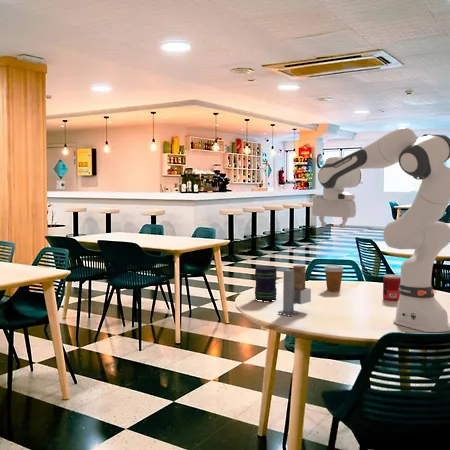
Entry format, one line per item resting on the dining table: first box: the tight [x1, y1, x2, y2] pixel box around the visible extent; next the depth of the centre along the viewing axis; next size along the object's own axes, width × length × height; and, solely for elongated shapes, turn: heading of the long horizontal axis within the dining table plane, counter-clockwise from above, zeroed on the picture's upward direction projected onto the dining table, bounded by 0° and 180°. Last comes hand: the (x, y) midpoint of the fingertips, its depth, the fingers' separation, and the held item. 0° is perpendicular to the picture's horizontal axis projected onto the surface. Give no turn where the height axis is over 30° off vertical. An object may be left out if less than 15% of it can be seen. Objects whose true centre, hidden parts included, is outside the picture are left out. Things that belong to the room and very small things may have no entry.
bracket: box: [277, 268, 312, 317], centre depth 213 cm, size 14×7×18 cm, turn 136°
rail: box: [292, 264, 306, 290], centre depth 215 cm, size 4×4×14 cm
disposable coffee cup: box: [323, 264, 344, 292], centre depth 258 cm, size 10×10×12 cm
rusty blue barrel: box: [254, 265, 277, 301], centre depth 236 cm, size 10×10×15 cm
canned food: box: [382, 273, 401, 302], centre depth 238 cm, size 8×8×11 cm
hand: (332, 227), depth 225 cm, fingers open, 8 cm apart
